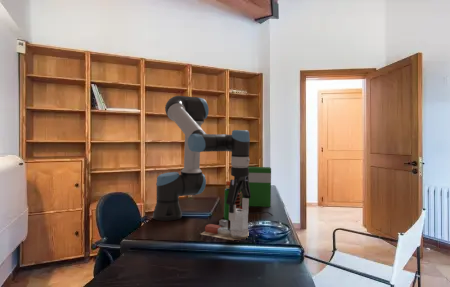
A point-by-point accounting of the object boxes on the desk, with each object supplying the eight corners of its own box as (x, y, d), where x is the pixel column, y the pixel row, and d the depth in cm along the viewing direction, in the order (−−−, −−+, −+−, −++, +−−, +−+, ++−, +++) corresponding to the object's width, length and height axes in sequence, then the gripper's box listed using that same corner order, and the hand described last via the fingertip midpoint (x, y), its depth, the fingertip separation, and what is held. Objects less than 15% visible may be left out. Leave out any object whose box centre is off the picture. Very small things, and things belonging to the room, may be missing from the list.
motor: (239, 222, 149) (239, 183, 148) (221, 221, 150) (222, 182, 150) (242, 217, 159) (242, 180, 158) (225, 216, 160) (226, 179, 160)
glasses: (235, 212, 171) (236, 203, 171) (261, 210, 177) (261, 202, 176) (246, 218, 158) (246, 209, 158) (273, 216, 164) (273, 207, 163)
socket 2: (230, 230, 124) (230, 210, 124) (235, 226, 129) (236, 207, 129) (242, 232, 122) (242, 212, 121) (247, 228, 127) (248, 209, 126)
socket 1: (217, 230, 133) (217, 221, 133) (221, 227, 137) (221, 219, 137) (225, 231, 132) (225, 222, 132) (229, 228, 135) (229, 220, 135)
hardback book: (269, 204, 192) (270, 167, 191) (270, 206, 184) (271, 168, 184) (242, 203, 193) (243, 166, 193) (242, 205, 186) (242, 167, 185)
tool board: (200, 236, 128) (200, 234, 128) (214, 228, 139) (214, 226, 139) (251, 246, 117) (251, 243, 117) (262, 236, 129) (262, 234, 128)
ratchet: (202, 233, 129) (203, 216, 129) (211, 228, 136) (212, 212, 136) (244, 240, 120) (244, 222, 120) (251, 235, 127) (251, 218, 127)
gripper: (235, 170, 112) (234, 225, 113) (258, 164, 134) (257, 211, 135) (218, 168, 115) (217, 222, 116) (243, 163, 138) (242, 208, 138)
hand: (239, 216), depth 125 cm, fingers open, 13 cm apart
